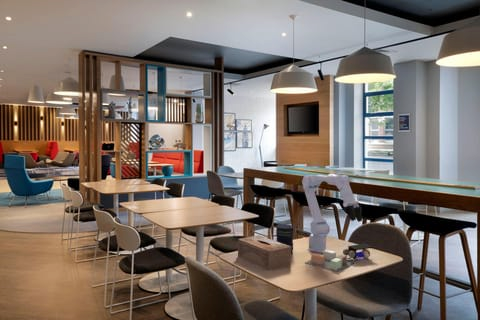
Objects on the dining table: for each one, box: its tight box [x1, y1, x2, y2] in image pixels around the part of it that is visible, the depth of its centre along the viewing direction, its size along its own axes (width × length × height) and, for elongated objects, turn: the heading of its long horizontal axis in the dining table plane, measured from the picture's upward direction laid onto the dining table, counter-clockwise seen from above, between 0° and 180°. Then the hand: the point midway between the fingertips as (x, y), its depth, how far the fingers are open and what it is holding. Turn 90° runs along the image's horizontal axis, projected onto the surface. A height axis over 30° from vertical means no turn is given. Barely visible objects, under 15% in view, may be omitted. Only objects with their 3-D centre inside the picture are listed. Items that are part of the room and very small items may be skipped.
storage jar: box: [275, 223, 295, 255], centre depth 213 cm, size 10×10×15 cm
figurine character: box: [342, 243, 373, 261], centre depth 204 cm, size 7×8×15 cm
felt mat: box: [304, 253, 356, 273], centre depth 198 cm, size 19×20×1 cm
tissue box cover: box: [237, 234, 292, 272], centre depth 198 cm, size 26×14×10 cm, turn 37°
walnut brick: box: [336, 254, 348, 266], centre depth 195 cm, size 6×3×4 cm, turn 140°
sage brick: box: [330, 258, 342, 270], centre depth 189 cm, size 6×3×4 cm, turn 140°
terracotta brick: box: [310, 252, 325, 265], centre depth 196 cm, size 6×3×4 cm, turn 50°
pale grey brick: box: [322, 250, 337, 260], centre depth 203 cm, size 6×3×4 cm, turn 50°
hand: (357, 220), depth 192 cm, fingers open, 7 cm apart
